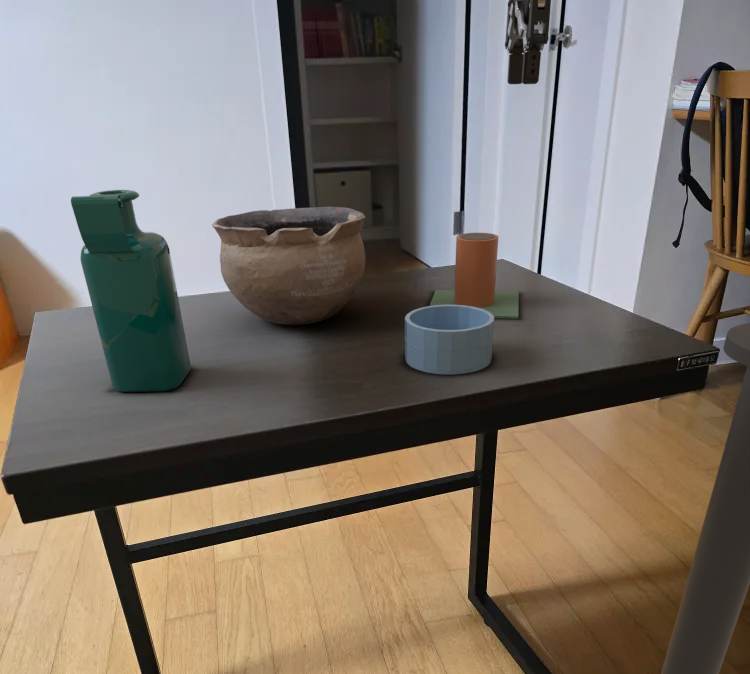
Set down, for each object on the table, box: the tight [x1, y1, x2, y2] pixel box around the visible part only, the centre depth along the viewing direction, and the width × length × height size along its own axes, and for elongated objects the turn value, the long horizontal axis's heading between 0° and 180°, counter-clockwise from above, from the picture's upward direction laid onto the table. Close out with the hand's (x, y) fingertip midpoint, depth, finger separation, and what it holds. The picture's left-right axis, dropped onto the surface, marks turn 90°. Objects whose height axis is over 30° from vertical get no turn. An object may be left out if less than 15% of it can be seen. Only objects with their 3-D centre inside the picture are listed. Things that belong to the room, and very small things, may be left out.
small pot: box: [454, 232, 499, 308], centre depth 105 cm, size 6×6×10 cm
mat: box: [429, 289, 520, 320], centre depth 108 cm, size 14×14×1 cm
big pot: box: [404, 305, 495, 376], centre depth 86 cm, size 11×11×6 cm
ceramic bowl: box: [211, 206, 366, 326], centre depth 101 cm, size 22×22×15 cm
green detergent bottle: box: [70, 189, 192, 393], centre depth 78 cm, size 10×8×22 cm
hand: (522, 84), depth 96 cm, fingers open, 8 cm apart
